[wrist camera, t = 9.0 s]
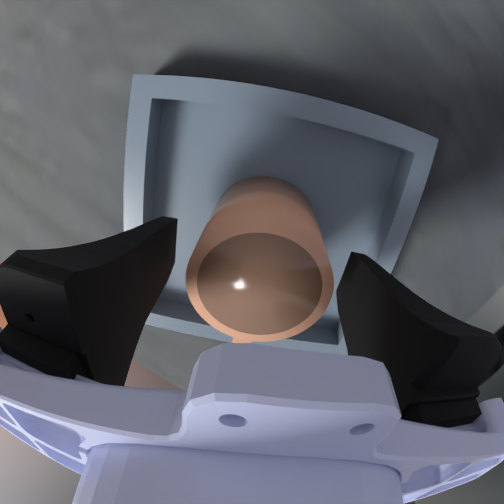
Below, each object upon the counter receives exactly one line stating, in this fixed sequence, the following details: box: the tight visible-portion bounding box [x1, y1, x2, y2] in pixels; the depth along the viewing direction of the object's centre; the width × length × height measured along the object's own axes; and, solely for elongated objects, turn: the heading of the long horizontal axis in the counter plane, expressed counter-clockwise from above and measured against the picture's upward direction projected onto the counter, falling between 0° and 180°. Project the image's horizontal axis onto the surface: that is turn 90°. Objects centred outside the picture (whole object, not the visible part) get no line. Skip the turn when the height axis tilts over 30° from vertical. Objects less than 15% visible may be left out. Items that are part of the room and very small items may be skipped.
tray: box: [124, 75, 439, 355], centre depth 14 cm, size 13×13×2 cm
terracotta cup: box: [186, 176, 334, 343], centre depth 12 cm, size 5×6×5 cm
